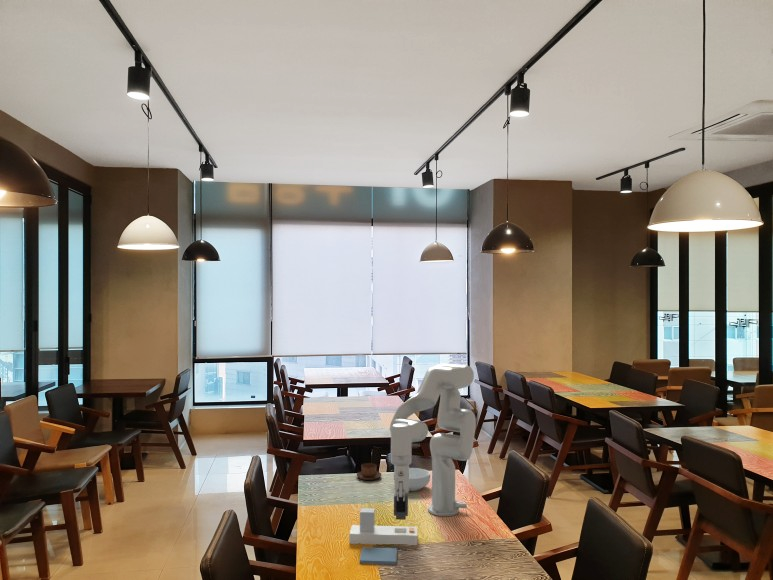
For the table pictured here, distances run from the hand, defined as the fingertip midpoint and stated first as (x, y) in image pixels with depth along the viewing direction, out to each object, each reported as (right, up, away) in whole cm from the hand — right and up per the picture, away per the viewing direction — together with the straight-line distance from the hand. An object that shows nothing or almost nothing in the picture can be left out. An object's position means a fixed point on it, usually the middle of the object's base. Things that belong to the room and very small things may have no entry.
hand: (400, 508), depth 210 cm
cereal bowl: (+6, -12, +57) cm, 59 cm away
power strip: (-6, -11, 0) cm, 13 cm away
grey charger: (-12, -9, 0) cm, 15 cm away
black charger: (0, -3, 0) cm, 3 cm away
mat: (-8, -11, -14) cm, 19 cm away
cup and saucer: (-14, -12, +72) cm, 74 cm away
